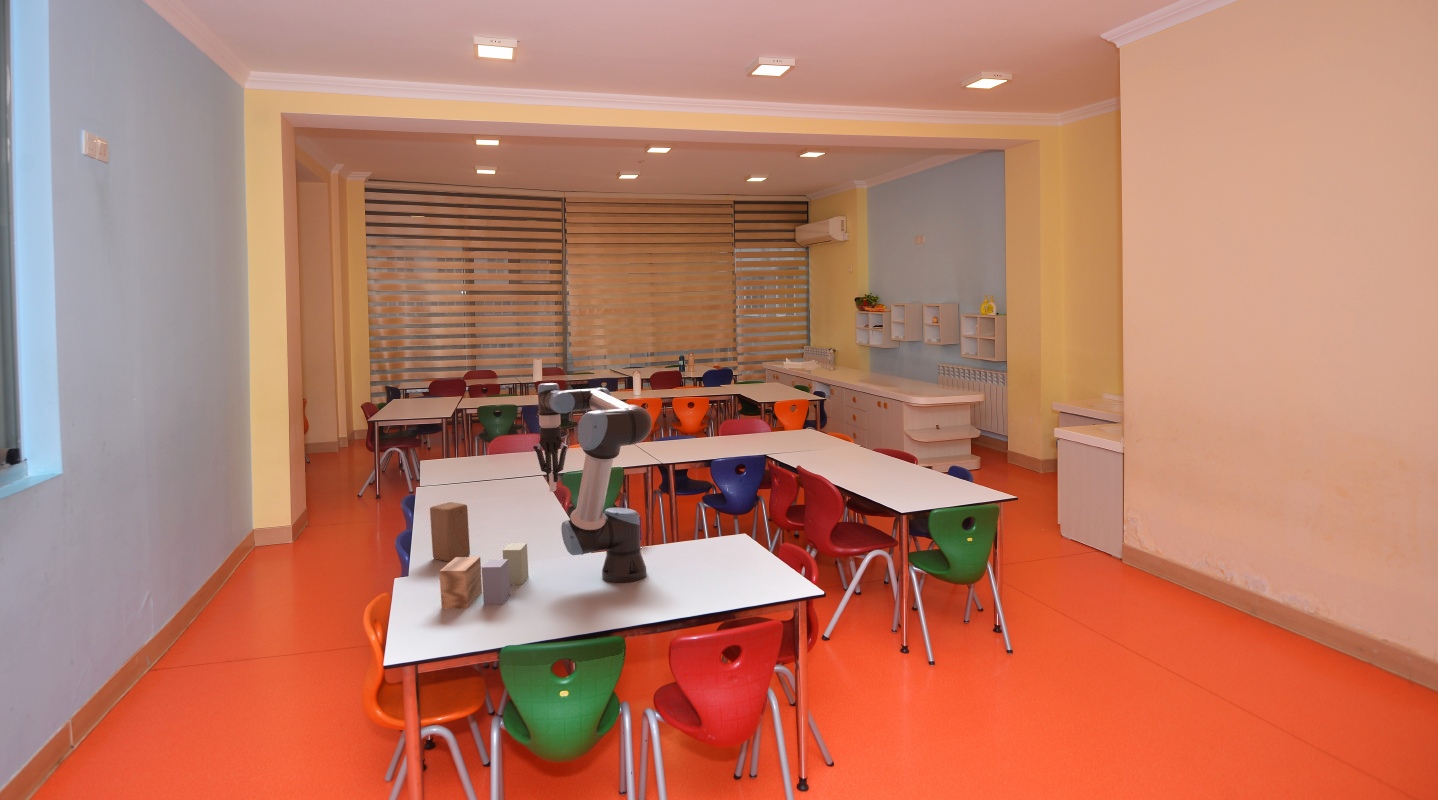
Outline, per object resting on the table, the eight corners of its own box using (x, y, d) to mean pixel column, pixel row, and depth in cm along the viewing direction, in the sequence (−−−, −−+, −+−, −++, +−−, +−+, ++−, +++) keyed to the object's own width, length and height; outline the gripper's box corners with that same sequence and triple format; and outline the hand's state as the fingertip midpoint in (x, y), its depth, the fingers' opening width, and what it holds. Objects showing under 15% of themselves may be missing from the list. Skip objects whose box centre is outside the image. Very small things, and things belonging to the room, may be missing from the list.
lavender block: (510, 595, 252) (508, 559, 251) (502, 604, 244) (500, 567, 243) (491, 595, 252) (489, 559, 251) (483, 604, 244) (481, 567, 243)
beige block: (528, 577, 270) (526, 543, 268) (522, 584, 262) (520, 549, 261) (511, 577, 270) (509, 543, 269) (504, 585, 262) (502, 550, 261)
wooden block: (471, 555, 296) (468, 504, 294) (449, 563, 288) (446, 509, 286) (453, 552, 301) (450, 501, 299) (431, 559, 293) (428, 506, 291)
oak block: (482, 592, 255) (480, 556, 254) (467, 608, 241) (465, 570, 240) (457, 593, 255) (455, 557, 254) (441, 608, 241) (439, 571, 240)
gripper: (571, 424, 284) (574, 488, 286) (537, 424, 286) (540, 488, 289) (563, 427, 276) (566, 493, 279) (528, 427, 279) (531, 492, 281)
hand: (553, 490), depth 284 cm, fingers closed
